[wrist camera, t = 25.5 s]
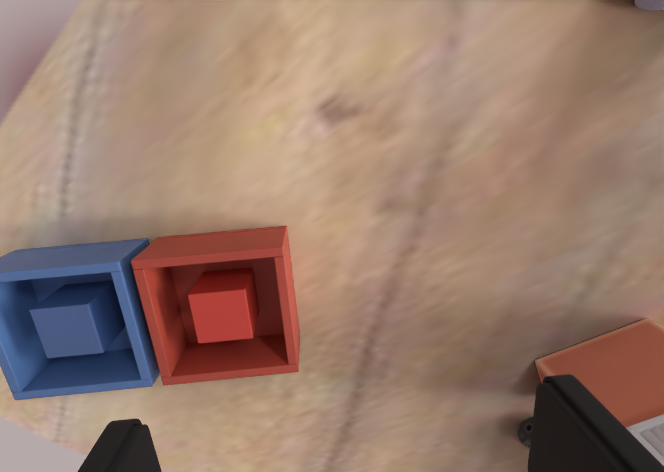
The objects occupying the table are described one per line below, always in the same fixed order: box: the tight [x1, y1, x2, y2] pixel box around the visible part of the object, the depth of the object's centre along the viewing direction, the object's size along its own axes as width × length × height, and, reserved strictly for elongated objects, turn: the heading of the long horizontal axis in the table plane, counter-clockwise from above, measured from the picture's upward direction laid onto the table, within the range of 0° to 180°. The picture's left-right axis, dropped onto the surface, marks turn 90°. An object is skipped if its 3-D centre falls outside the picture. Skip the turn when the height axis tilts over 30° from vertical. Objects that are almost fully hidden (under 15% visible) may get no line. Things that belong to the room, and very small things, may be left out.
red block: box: [188, 267, 259, 343], centre depth 34 cm, size 5×5×5 cm
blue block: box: [29, 280, 126, 358], centre depth 33 cm, size 5×5×5 cm
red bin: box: [131, 226, 300, 385], centre depth 34 cm, size 12×12×6 cm
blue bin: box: [0, 238, 160, 400], centre depth 33 cm, size 12×12×6 cm
